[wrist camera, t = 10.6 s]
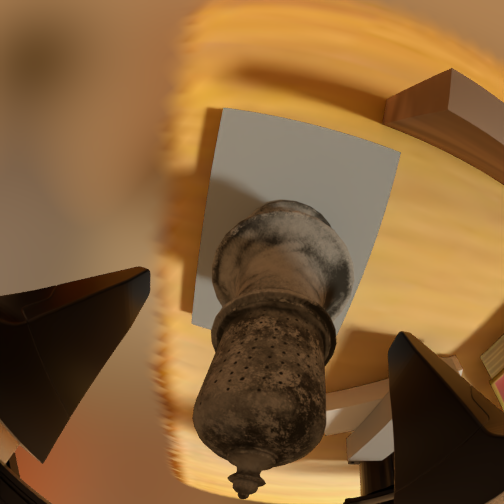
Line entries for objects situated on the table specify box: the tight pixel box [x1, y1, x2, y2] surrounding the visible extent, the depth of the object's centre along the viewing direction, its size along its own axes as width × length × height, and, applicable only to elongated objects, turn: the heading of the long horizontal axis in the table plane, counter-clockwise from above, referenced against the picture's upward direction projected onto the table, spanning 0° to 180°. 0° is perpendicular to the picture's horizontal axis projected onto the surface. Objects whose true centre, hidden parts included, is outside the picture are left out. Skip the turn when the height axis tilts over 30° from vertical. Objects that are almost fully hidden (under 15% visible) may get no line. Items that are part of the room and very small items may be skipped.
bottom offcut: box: [324, 355, 463, 436], centre depth 18 cm, size 4×12×2 cm, turn 110°
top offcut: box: [346, 357, 460, 461], centre depth 15 cm, size 4×11×2 cm, turn 168°
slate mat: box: [192, 108, 400, 336], centre depth 15 cm, size 13×9×1 cm
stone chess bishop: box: [193, 200, 354, 499], centre depth 9 cm, size 6×6×12 cm
